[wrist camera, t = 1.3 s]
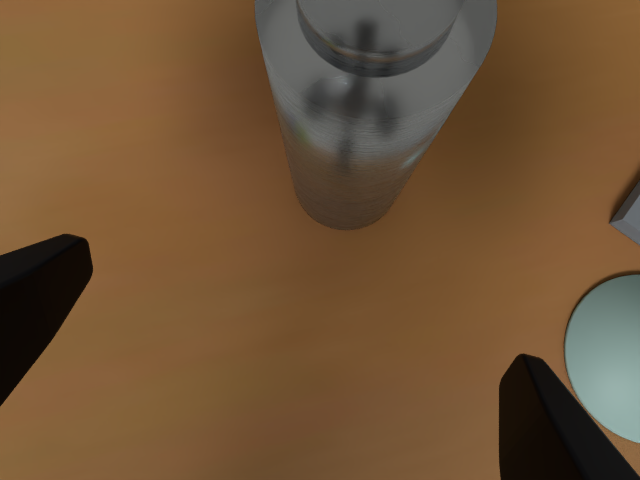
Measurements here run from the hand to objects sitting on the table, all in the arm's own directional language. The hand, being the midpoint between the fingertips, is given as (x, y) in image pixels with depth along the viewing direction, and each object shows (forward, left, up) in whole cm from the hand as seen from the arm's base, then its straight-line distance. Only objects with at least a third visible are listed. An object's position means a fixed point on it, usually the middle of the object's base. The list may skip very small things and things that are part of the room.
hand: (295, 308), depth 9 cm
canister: (+6, +3, -13) cm, 15 cm away
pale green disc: (+8, -14, -13) cm, 21 cm away
